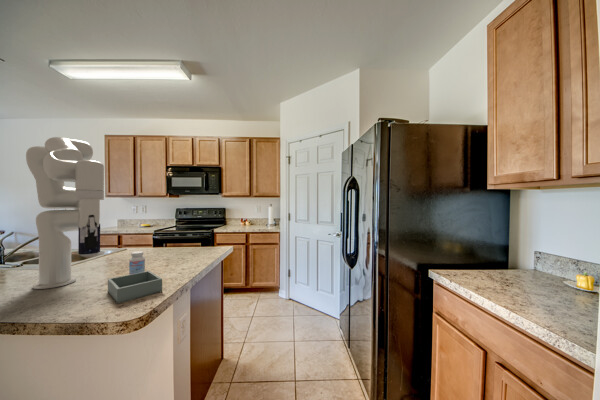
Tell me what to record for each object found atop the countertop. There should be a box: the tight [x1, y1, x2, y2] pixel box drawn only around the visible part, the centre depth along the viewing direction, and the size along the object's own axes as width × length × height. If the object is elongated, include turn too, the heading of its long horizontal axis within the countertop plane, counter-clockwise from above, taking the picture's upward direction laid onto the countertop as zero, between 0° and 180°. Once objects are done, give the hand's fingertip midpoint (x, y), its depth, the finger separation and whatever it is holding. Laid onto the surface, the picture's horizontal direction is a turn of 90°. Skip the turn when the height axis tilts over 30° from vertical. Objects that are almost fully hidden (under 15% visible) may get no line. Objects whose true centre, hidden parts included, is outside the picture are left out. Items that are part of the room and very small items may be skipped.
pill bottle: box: [128, 250, 146, 275], centre depth 109 cm, size 6×6×11 cm
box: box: [107, 270, 163, 304], centre depth 90 cm, size 16×14×5 cm
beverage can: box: [77, 222, 101, 257], centre depth 81 cm, size 6×6×12 cm
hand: (89, 246), depth 81 cm, fingers closed on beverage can, 5 cm apart
